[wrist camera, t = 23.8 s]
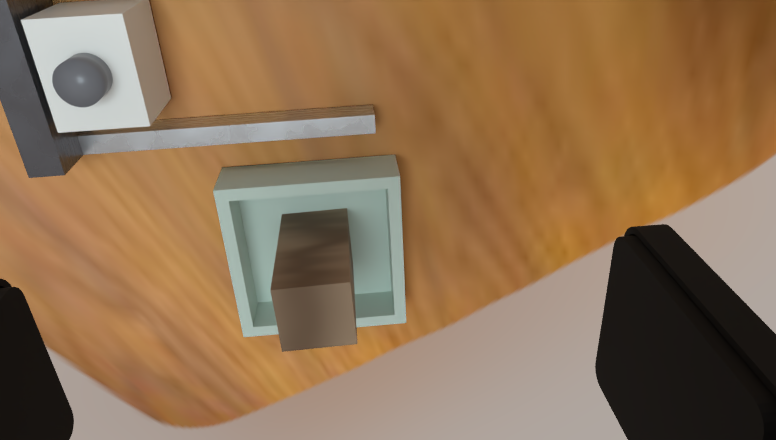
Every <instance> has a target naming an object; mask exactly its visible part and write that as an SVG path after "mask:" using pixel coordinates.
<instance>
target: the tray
mask: <svg viewBox="0 0 776 440" xmlns="http://www.w3.org/2000/svg"><path fill="white" fill-rule="evenodd" d="M213 192H214V197H215V202H216V207H217V212H218V216H219V221H220V226H221V231H222V236H223V240H224V245H225V250H226V255H227V260H228V264H229V269H230V274H231V279H232V284H233V288H234V293H235V298H236V303H237V308H238V312H239V317H240V322H241V327H242V332H243V336H244V337H251V336H262V335H274V334H279V333H278V327H277V322H276V317H275V312H274V307H273V302H272V297H271V291H270V289H271V282H272V276H273V269H274V263H275V256H276V250H277V243H278V237H279V230H280V223H281V217H282V214H289V213H300V212H310V211H321V210H332V209H342V208H347V212H348V221H349V231H350V240H351V249H352V258H353V272H354V291H355V310H356V327H365V326H376V325H388V324H399V323H406V305H405V281H404V258H403V234H402V210H401V186H400V174H399V169H398V165H397V161H396V156H395V155H383V156H370V157H357V158H343V159H330V160H317V161H303V162H290V163H277V164H263V165H250V166H237V167H224V168H222V169H221V172H220V174H219V177H218V179H217V182H216V185H215V187H214V190H213Z"/></svg>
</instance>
